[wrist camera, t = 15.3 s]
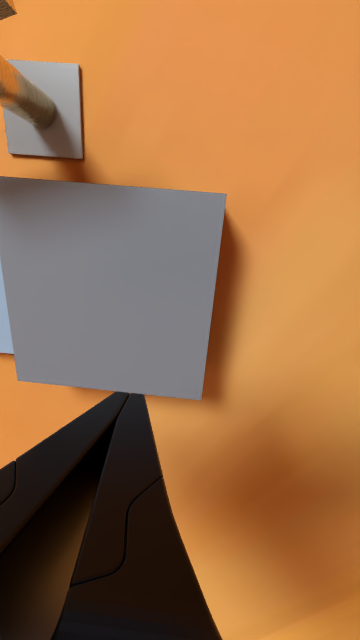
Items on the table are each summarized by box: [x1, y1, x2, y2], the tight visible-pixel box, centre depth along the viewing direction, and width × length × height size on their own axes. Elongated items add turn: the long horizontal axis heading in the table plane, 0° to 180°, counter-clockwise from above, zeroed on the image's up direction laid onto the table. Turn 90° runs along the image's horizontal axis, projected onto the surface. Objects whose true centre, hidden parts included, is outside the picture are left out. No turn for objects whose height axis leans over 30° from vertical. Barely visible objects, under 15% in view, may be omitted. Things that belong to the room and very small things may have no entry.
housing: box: [0, 60, 227, 400], centre depth 16 cm, size 18×13×4 cm
